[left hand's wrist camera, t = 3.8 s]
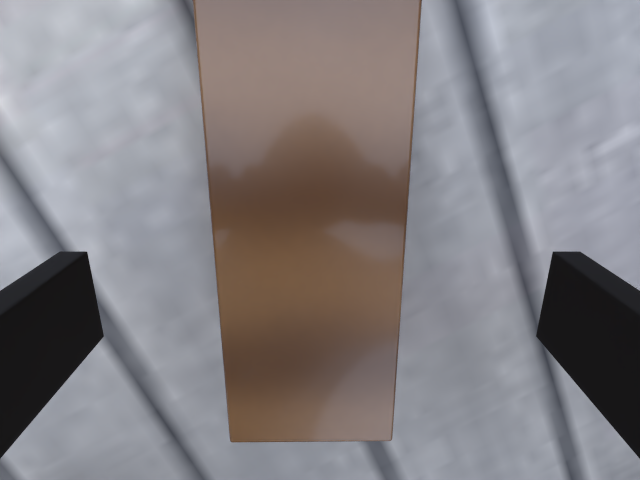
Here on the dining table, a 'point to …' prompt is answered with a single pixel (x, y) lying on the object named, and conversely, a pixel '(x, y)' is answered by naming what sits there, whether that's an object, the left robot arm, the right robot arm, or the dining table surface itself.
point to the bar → (308, 208)
